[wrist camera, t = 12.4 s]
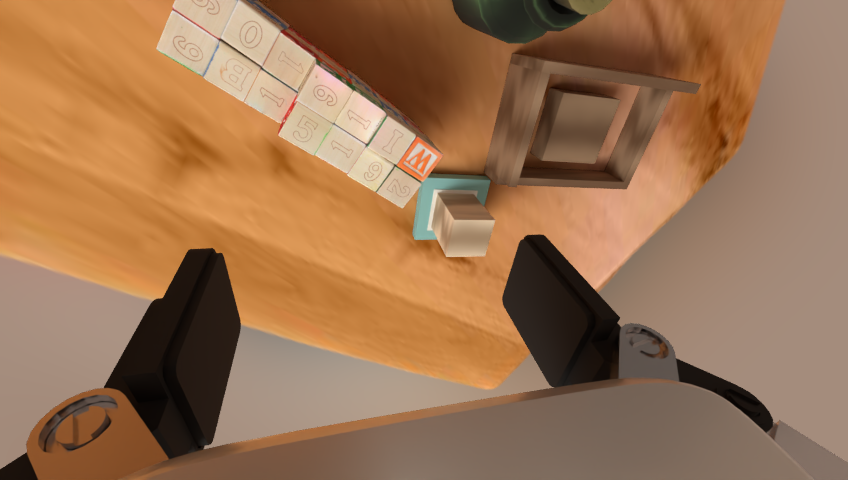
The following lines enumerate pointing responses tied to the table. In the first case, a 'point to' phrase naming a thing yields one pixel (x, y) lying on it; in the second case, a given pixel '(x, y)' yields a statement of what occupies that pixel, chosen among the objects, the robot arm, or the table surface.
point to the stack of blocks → (301, 92)
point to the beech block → (462, 225)
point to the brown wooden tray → (572, 124)
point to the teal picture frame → (444, 185)
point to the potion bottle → (524, 16)
